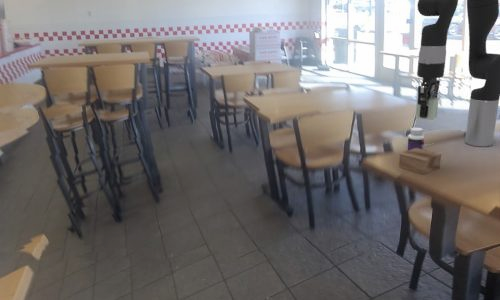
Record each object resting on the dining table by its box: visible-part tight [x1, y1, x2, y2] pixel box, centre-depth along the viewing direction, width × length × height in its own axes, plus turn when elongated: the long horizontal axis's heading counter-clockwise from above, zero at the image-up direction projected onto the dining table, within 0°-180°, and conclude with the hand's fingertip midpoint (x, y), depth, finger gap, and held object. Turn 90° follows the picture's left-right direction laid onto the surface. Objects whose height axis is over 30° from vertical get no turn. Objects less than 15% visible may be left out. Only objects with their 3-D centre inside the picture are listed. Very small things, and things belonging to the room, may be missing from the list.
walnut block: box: [398, 148, 442, 176], centre depth 134 cm, size 9×9×5 cm
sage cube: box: [414, 97, 439, 121], centre depth 128 cm, size 5×5×6 cm
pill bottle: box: [406, 127, 425, 151], centre depth 144 cm, size 5×5×10 cm
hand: (426, 115), depth 128 cm, fingers closed on sage cube, 5 cm apart
